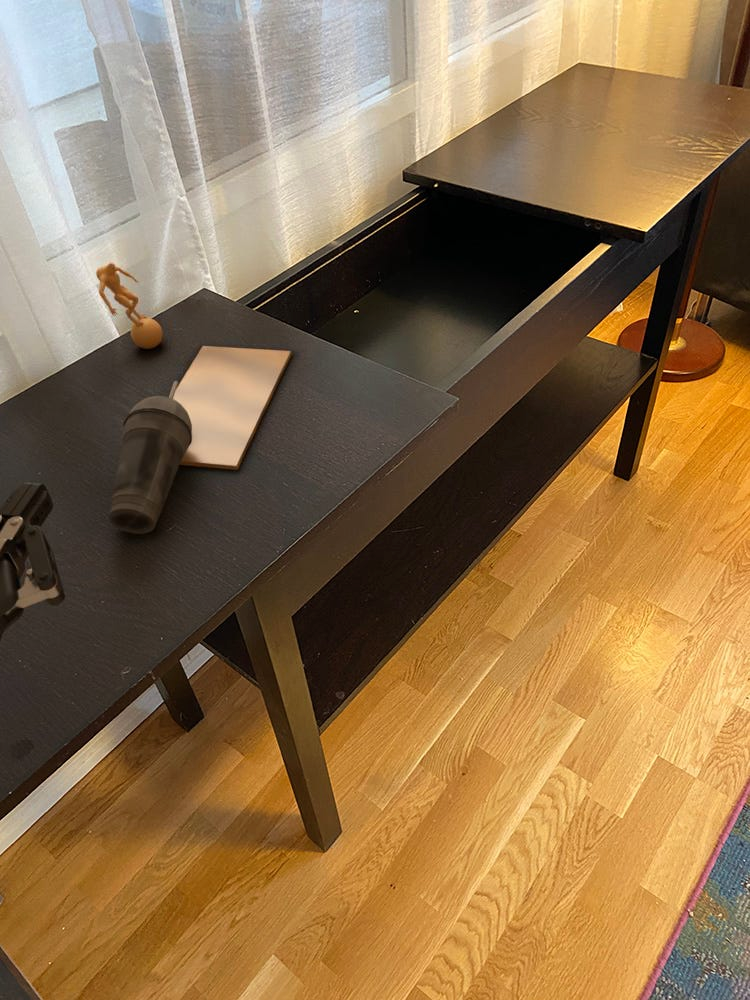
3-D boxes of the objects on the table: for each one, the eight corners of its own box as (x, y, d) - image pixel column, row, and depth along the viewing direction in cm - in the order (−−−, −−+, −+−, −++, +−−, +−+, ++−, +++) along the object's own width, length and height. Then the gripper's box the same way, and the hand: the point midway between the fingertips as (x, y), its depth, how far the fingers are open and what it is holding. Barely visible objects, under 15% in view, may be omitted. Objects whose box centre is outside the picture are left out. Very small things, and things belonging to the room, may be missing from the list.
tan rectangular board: (237, 470, 85) (236, 466, 85) (135, 461, 87) (134, 457, 87) (291, 354, 100) (291, 350, 100) (203, 349, 102) (202, 345, 102)
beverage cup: (86, 496, 74) (137, 348, 86) (102, 537, 80) (147, 393, 92) (163, 504, 74) (203, 355, 86) (173, 544, 80) (209, 400, 92)
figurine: (155, 364, 101) (128, 279, 92) (111, 364, 101) (80, 280, 93) (174, 329, 106) (150, 246, 98) (132, 328, 107) (105, 246, 99)
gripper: (-28, 665, 45) (103, 462, 57) (-223, 636, 47) (-58, 446, 59) (22, 730, 50) (132, 532, 62) (-156, 701, 52) (-17, 515, 64)
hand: (39, 490), depth 60 cm, fingers closed
